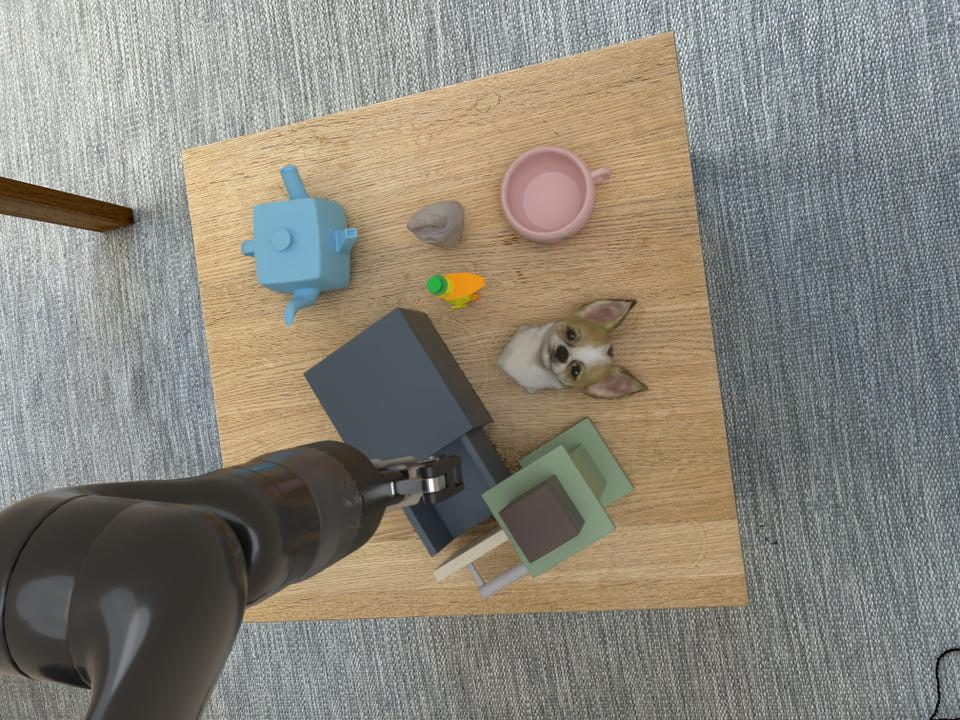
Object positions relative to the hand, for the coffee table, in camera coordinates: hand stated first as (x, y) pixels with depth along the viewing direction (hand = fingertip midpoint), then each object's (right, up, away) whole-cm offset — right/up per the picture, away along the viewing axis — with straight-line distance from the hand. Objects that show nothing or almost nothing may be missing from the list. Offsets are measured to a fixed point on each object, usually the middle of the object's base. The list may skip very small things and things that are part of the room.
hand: (392, 472), depth 61 cm
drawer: (+7, -7, +24) cm, 26 cm away
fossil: (+4, +23, +26) cm, 35 cm away
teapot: (-11, +22, +29) cm, 38 cm away
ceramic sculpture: (+17, +10, +23) cm, 30 cm away
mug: (+16, +27, +23) cm, 39 cm away
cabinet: (-1, +5, +27) cm, 27 cm away
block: (+12, -3, +1) cm, 13 cm away
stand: (+17, -3, +22) cm, 29 cm away
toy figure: (+6, +17, +25) cm, 31 cm away
